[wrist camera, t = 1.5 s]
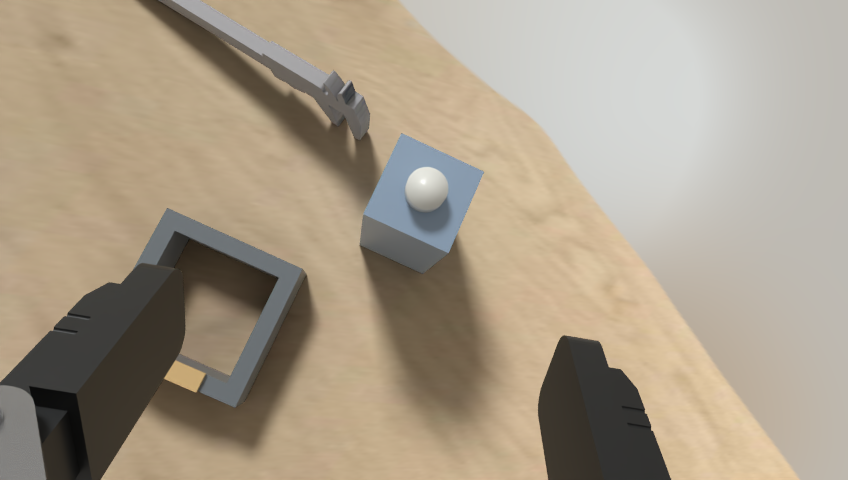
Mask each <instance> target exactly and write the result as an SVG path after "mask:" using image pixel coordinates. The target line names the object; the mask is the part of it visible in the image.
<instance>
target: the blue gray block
mask: <svg viewBox="0 0 848 480" xmlns="http://www.w3.org/2000/svg"><path fill="white" fill-rule="evenodd" d="M483 173H484V172H483V171H481V170H479V169H477V168H475V167H473V166H471V165H468V164H466V163H464V162H462V161H460V160H458V159H456V158H454V157H451V156H449V155H447V154H445V153H443V152H441V151H439V150H436V149H434V148H432V147H430V146H428V145H426V144H424V143H421V142H419V141H417V140H415V139H413V138H411V137H409V136H407V135H404V134H402V133H401V136H400V138H399V140H398V142H397V144H396V146H395V148H394V150H393V152H392V155H391V157H390V159H389V161H388V163H387V165H386V167H385V169H384V171H383V173H382V176H381V178H380V180H379V182H378V184H377V186H376V188H375V190H374V192H373V195H372V197H371V199H370V201H369V203H368V205H367V207H366V209H365V211H364V214H363V220H362V229H361V238H360V246H363V247H365V248H367V249H369V250H371V251H374V252H376V253H378V254H380V255H382V256H385V257H387V258H389V259H391V260H393V261H396V262H398V263H400V264H402V265H404V266H407V267H409V268H411V269H413V270H415V271H418V272H420V273H422V274H423V273H424V272H426V271H427V270H428V269H429V268H431V267H432V266H433V265H434V264H436V263H437V262H438V261H439V260H441V259H442V258H443V257H444V256H446V255H447V254H448V253H449V251H450V249H451V246H452V244H453V242H454V240H455V237H456V235H457V233H458V230H459V228H460V226H461V223H462V221H463V219H464V217H465V214H466V212H467V210H468V207H469V205H470V203H471V200H472V198H473V196H474V194H475V191H476V189H477V187H478V184H479V182H480V180H481V177H482V175H483Z"/></svg>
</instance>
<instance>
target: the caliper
mask: <svg viewBox="0 0 848 480" xmlns="http://www.w3.org/2000/svg"><path fill="white" fill-rule="evenodd" d="M159 1H160V2H162V3H164V4H165V5H167V6H168V7H170V8H172V9H173V10H175V11H177V12H178V13H180V14H182V15H183V16H185V17H186V18H188V19H190V20H191V21H193V22H195V23H196V24H198V25H200V26H201V27H203V28H204V29H206V30H208V31H209V32H211V33H213V34H214V35H216V36H217V37H219V38H221V39H222V40H224V41H225V42H227V43H229V44H230V45H232V46H234V47H235V48H237V49H238V50H240V51H242V52H243V53H245V54H247V55H248V56H250V57H251V58H253V59H255V60H256V61H258V62H260V63H261V64H263V65H264V66H266V67H268V68H269V69H271V71H272V73H273V74H274V76H275V77H277V78H278V79H280V80H282V81H284V82H286V83H288V84H289V85H290V86H292V87H293V88H295V89H297V90H299V91H301V92H304V93H307V94H308V95H310V96H312V97H313V98H314V99H315V100H316V102H317V103H318V104H319V106H320V107H321V108H322V110H323V111H324V112H325V114H326V115H327V116H328V118H329V119H330V121H331V122H332V123H334V124H335V125H336V126H339V125H340V124H341V123H342V121H343V120H344V119H345V118H346V120H347V122H348V125H349V127H350V129H351V131H352V134H353V136H354V138H356V139H357V140H361V138H362V137H363V136H364V134H365V133H366V132H367V130H368V129H369V121H370V113H369V110H368V107H367V105H366V102H365V100H364V97H363V96H362V95H360V94H358V93H357V92H355V89H354V87H353V84H352V81H350V80H349V81H348V82H347V83H346V84H344V82H343V81H342V79H341V78H340V77H339V76H338V74H337V73H336V72H335V71H334V70H333V71H332V72H331V74H330V75H328V74H326V73H325V72H323V71H322V70H320V69H318V68H316V67H315V66H313V65H311V64H310V63H308V62H306V61H305V60H303V59H301V58H300V57H298V56H296V55H295V54H293V53H291V52H290V51H288V50H286V49H285V48H283V47H281V46H280V45H278V44H276V43H275V42H273V41H271V42H268V41H266V40H265V39H263V38H262V37H260V36H258V35H257V34H255V33H253V32H252V31H250V30H248V29H247V28H245V27H243V26H242V25H240V24H238V23H237V22H235V21H233V20H232V19H230V18H229V17H227V16H225V15H224V14H222V13H220V12H219V11H217V10H215V9H214V8H212V7H210V6H209V5H207V4H205V3H204V2H202V1H200V0H159Z"/></svg>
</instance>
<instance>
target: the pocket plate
mask: <svg viewBox="0 0 848 480" xmlns="http://www.w3.org/2000/svg"><path fill="white" fill-rule="evenodd" d="M189 239H190V240H193V241H195V242H197V243H199V244H201V245H204V246H206V247H208V248H210V249H213V250H215V251H217V252H219V253H221V254H224V255H226V256H228V257H230V258H233V259H235V260H237V261H239V262H242V263H244V264H246V265H248V266H250V267H253V268H255V269H257V270H259V271H262V272H264V273H266V274H268V275H271V276H273V277H275V278H277V279H278V281H277V283H276V285H275V287H274V289H273V291H272V293H271V295H270V297H269V299H268V301H267V303H266V305H265V307H264V309H263V311H262V313H261V315H260V317H259V319H258V321H257V323H256V325H255V327H254V329H253V331H252V333H251V335H250V337H249V340H248V342H247V344H246V346H245V348H244V350H243V352H242V354H241V356H240V358H239V360H238V362H237V364H236V366H235V368H234V370H233V372H232V374H231V376H229V375H226V374H224V373H222V372H220V371H217V370H215V369H213V368H210V367H208V366H206V365H204V364H201V363H199V362H197V361H194V360H192V359H190V358H188V357H185V356H183V355H181V354H179V355H178V357H177V358H176V360H175V362H174V363H173V365H172V366H171V368H170V370H169V371H168V373H167V374H166V376H165V378H164V379H166V380H168V381H170V382H173V383H175V384H177V385H179V386H182V387H184V388H186V389H189V390H191V391H193V392H197V391H198V392H200V393H202V394H205V395H207V396H209V397H212V398H214V399H216V400H218V401H221V402H223V403H225V404H228V405H230V406H232V407H237V406H238V405H240V404H242V403H243V402H245V400H246V398H247V396H248V394H249V392H250V389H251V387H252V385H253V383H254V381H255V379H256V377H257V375H258V373H259V371H260V369H261V367H262V365H263V363H264V361H265V359H266V356H267V354H268V352H269V350H270V348H271V346H272V344H273V342H274V340H275V338H276V336H277V334H278V332H279V330H280V328H281V326H282V323H283V321H284V319H285V317H286V315H287V313H288V311H289V309H290V307H291V305H292V303H293V301H294V299H295V297H296V295H297V293H298V290H299V288H300V286H301V284H302V282H303V280H304V278H305V276H306V273H305V272H304V270H303V269H302V268H299V267H297V266H295V265H293V264H290V263H288V262H286V261H284V260H282V259H279V258H277V257H275V256H273V255H270V254H268V253H266V252H264V251H262V250H259V249H257V248H255V247H253V246H251V245H248V244H246V243H244V242H242V241H239V240H237V239H235V238H233V237H231V236H228V235H226V234H224V233H222V232H219V231H217V230H215V229H213V228H211V227H208V226H206V225H204V224H202V223H199V222H197V221H195V220H193V219H191V218H188V217H186V216H184V215H182V214H180V213H177V212H175V211H173V210H171V209H168V208H167V209H166V211H165V213H164V215H163V216H162V218H161V220H160V222H159V224H158V225H157V227H156V229H155V231H154V233H153V235H152V236H151V238H150V240H149V242H148V244H147V245H146V247H145V249H144V251H143V253H142V255H141V256H140V258H139V260H138V262H137V264H136V265H135V267H136V266H138V265H139V264H140V263H147V264H153V265H159V266H165V267H170V268H174V266H175V264H176V263H177V261H178V259H179V257H180V255H181V253H182V251H183V250H184V248H185V246H186V244H187V242H188V240H189ZM135 267H134V269H135ZM134 269H133V270H134Z"/></svg>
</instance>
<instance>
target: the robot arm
mask: <svg viewBox="0 0 848 480" xmlns="http://www.w3.org/2000/svg"><path fill="white" fill-rule="evenodd" d="M184 336H185V308H184V286H183V275H182V272H181V270H180V269H176V268H170V267H165V266H159V265H153V264H147V263H140V264H139V265H138V266H136V267H135V269H134V270H133V271H132V272H131V273H130V274H129V275H128V276H127V277H126V279H125V280H124V281H123V282H122V283H121V284H116V283H110V282H109V283H107V284H105V285H103V286H101V287H100V288H98V289H96V290H94V291H92V292H90V293H88V294H86V295H85V296H84V297H83V298H82V299H81V300H80V301H79V302H78V303H77V304H76V305H75V306H74V307H73V308H72V309H71V310H70V311H69V312H68V315H67V317H66V316H64V317H63V318H62V319H61V320H60V321H59V322H58V323H57V324H56V325H55V326H54V330H53V331H50V332H49V333H48V334H47V335H46V336H45V337H44V338H43V339H42V340H41V341H40V342H39V343H38V344H37V345H36V346H35V347H34V348H33V349H32V350H31V351H30V352H29V353H28V354H27V355H26V356H25V358H24V359H23V360H22V361H21V362H20V363H19V364H18V365H17V366H16V367H15V368H14V369H13V370H12V371H11V372H10V373H9V374H8V375H7V376H6V377H5V378H4V379H3V380H2V381H1V382H0V480H101V478H102V476H103V475H104V473H105V472H106V470H107V468H108V467H109V465H110V464H111V462H112V461H113V459H114V457H115V456H116V454H117V453H118V451H119V449H120V448H121V446H122V445H123V443H124V441H125V440H126V438H127V437H128V435H129V433H130V432H131V430H132V429H133V427H134V425H135V424H136V422H137V421H138V419H139V417H140V416H141V414H142V413H143V411H144V409H145V408H146V406H147V405H148V403H149V401H150V400H151V398H152V397H153V395H154V394H155V392H156V390H157V389H158V387H159V386H160V384H161V382H162V381H163V379H164V378H165V376H166V374H167V373H168V371H169V370H170V368H171V366H172V365H173V363H174V362H175V360H176V358H177V357H178V355H179V353H180V350H181V348H182V344H183V341H184ZM538 417H539V424H540V430H541V436H542V442H543V449H544V455H545V461H546V468H547V474H548V480H671V478H670V475H669V473H668V470H667V467H666V465H665V462H664V459H663V457H662V454H661V451H660V449H659V446H658V443H657V441H656V438H655V435H654V432H653V431H651V424H650V422H649V419H648V416H647V414H645V408H644V406H643V403H642V400H641V398H640V395H639V392H638V390H637V388H636V387H635V386H634V385H633V383H632V382H631V381H630V380H629V379H628V377H627V376H626V375H625V374H624V373H623V371H622V370H621V369H615V368H609V367H608V364H607V361H606V358H605V354H604V351H603V348H602V346H601V344H600V342H598V341H594V340H588V339H582V338H577V337H571V336H565V335H564V336H562V337H561V338H560V340H559V342H558V344H557V347H556V350H555V352H554V355H553V358H552V360H551V363H550V366H549V368H548V371H547V374H546V376H545V379H544V382H543V385H542V387H541V391H540V396H539V403H538Z"/></svg>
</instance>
